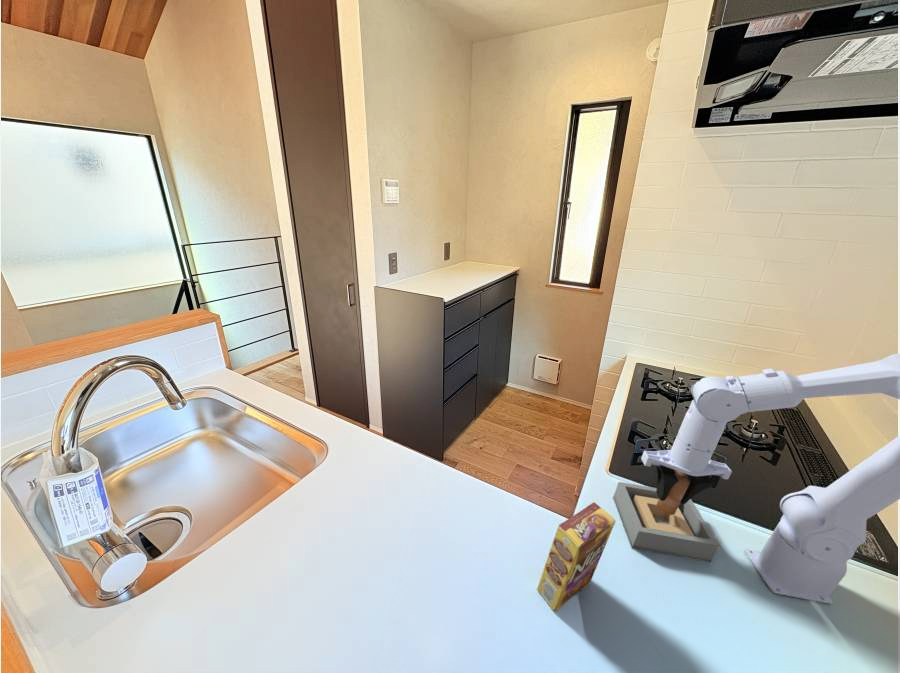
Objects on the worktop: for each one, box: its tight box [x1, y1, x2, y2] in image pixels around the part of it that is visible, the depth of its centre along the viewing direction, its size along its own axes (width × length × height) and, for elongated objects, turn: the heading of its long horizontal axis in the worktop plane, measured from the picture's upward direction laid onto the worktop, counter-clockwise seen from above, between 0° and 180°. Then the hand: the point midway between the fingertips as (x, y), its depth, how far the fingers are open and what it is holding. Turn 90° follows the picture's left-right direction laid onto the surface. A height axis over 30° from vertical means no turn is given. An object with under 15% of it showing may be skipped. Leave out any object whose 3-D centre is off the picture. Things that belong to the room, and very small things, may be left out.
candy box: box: [536, 501, 616, 613], centre depth 55 cm, size 9×4×15 cm, turn 124°
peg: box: [657, 470, 691, 515], centre depth 67 cm, size 3×3×8 cm
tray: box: [612, 481, 721, 563], centre depth 70 cm, size 14×12×4 cm
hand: (670, 498), depth 68 cm, fingers closed on peg, 3 cm apart
